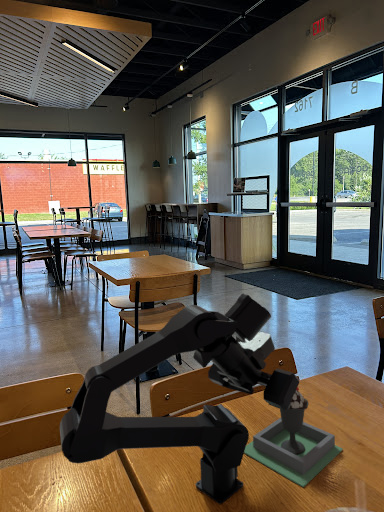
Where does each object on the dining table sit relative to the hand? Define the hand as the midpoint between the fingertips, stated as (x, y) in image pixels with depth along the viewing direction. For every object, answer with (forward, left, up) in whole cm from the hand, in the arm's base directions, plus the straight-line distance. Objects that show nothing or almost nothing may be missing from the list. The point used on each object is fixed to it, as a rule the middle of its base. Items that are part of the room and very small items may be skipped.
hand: (270, 398), depth 77 cm
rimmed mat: (+5, -2, -12) cm, 14 cm away
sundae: (+5, -2, -12) cm, 13 cm away
